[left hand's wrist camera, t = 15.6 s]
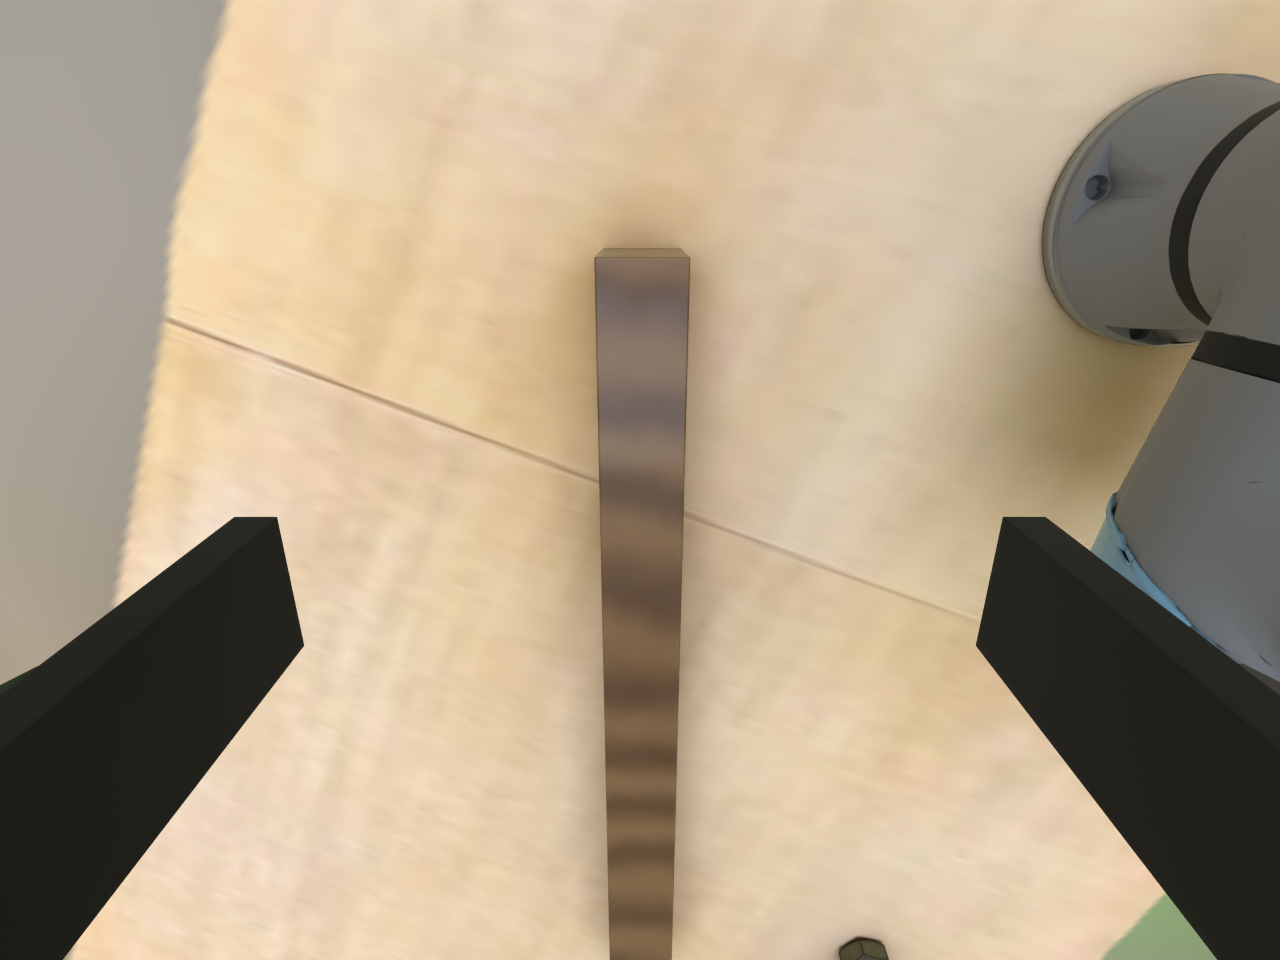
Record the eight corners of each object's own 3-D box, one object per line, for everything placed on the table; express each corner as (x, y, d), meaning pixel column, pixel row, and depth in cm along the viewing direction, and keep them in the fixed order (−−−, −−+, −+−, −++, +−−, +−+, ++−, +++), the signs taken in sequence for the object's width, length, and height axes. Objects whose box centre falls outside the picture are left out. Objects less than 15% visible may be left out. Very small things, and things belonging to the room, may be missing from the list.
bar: (602, 248, 44) (594, 257, 36) (681, 248, 44) (690, 256, 36) (614, 938, 67) (611, 1033, 59) (666, 938, 67) (669, 1034, 59)
